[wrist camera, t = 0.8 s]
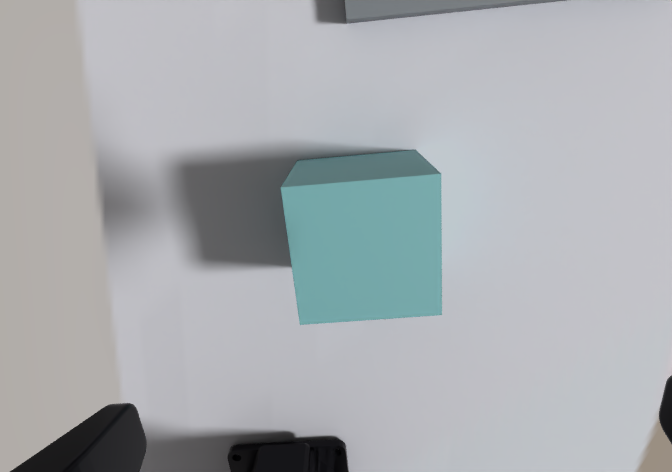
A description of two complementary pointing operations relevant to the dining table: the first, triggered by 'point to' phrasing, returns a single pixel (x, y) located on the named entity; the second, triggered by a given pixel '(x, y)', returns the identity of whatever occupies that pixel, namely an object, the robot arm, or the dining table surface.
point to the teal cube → (365, 237)
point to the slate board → (420, 7)
